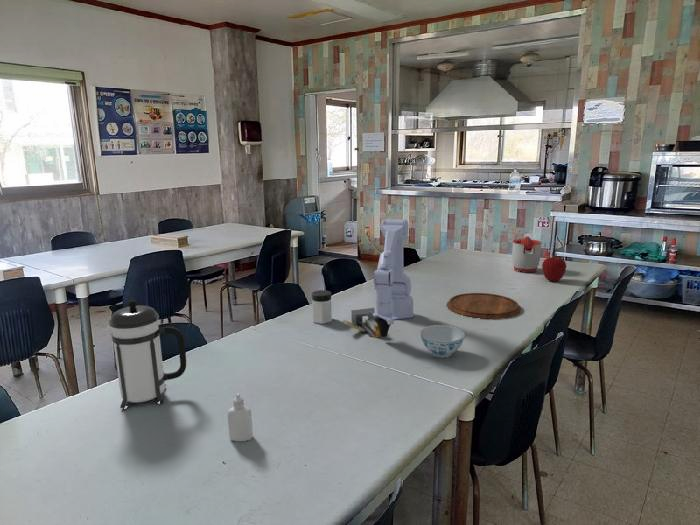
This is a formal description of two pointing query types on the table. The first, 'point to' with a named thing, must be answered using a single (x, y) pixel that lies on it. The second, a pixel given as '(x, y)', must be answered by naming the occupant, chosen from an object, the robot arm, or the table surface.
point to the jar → (321, 306)
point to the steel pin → (373, 327)
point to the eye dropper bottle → (240, 421)
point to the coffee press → (141, 353)
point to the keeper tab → (354, 326)
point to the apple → (553, 268)
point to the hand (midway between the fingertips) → (383, 336)
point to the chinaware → (442, 339)
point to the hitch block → (358, 318)
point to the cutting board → (483, 306)
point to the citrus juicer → (526, 254)
